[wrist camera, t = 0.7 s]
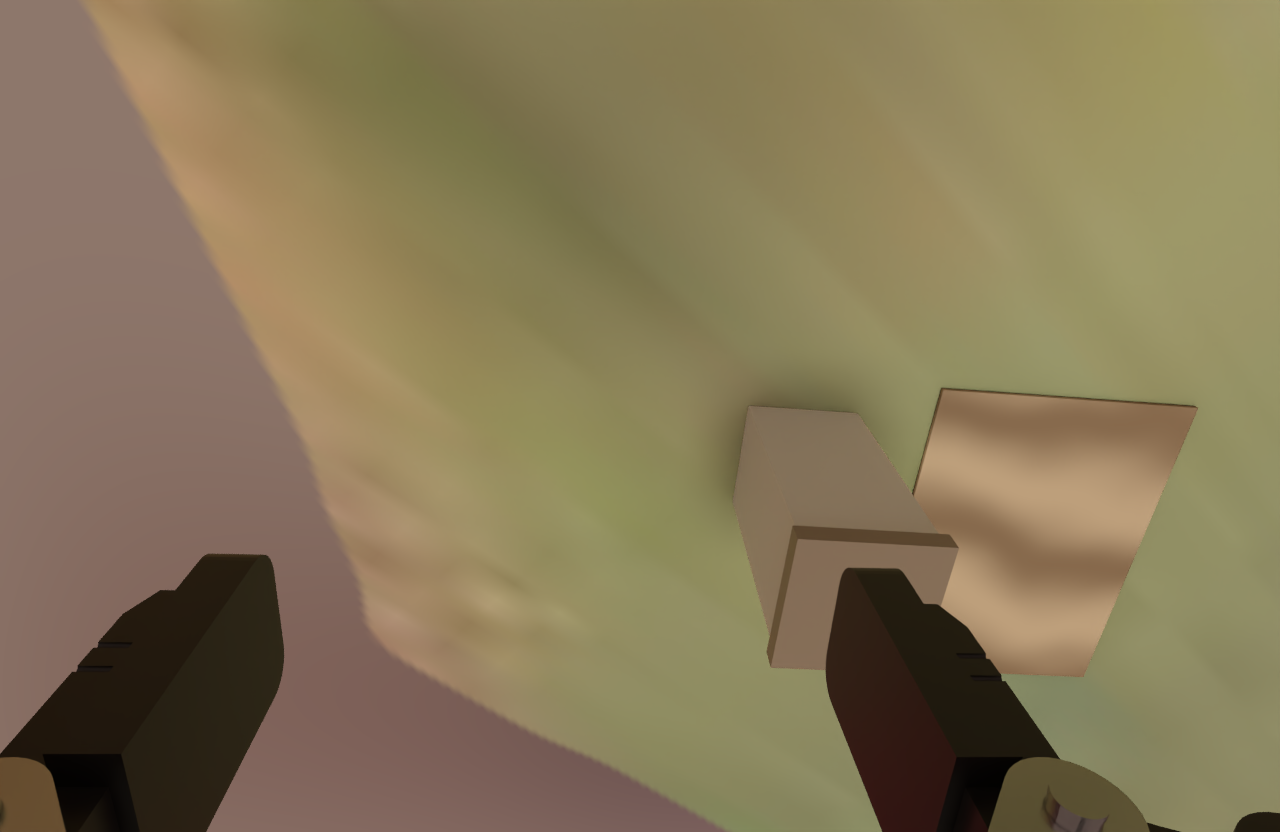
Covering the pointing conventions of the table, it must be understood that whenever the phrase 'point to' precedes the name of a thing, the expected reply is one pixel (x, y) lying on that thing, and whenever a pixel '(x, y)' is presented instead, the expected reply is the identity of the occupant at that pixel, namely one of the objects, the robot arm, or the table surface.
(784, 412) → the canister
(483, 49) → the table surface
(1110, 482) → the mat
